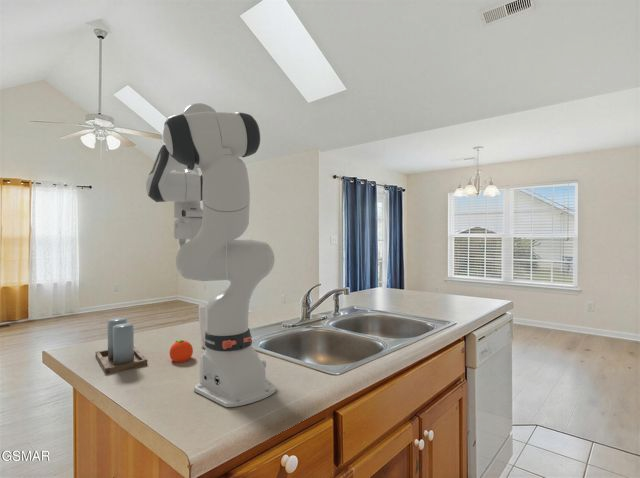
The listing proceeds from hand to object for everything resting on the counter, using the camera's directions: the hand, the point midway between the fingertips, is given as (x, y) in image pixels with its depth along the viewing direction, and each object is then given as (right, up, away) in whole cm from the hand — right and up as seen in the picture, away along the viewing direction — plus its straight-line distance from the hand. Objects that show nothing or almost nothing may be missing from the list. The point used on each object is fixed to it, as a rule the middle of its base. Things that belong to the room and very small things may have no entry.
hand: (188, 252), depth 128 cm
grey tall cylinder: (-13, -34, -18) cm, 40 cm away
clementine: (+2, -35, -13) cm, 37 cm away
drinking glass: (+7, -34, +2) cm, 35 cm away
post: (-19, -34, -11) cm, 40 cm away
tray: (-16, -35, -14) cm, 41 cm away
